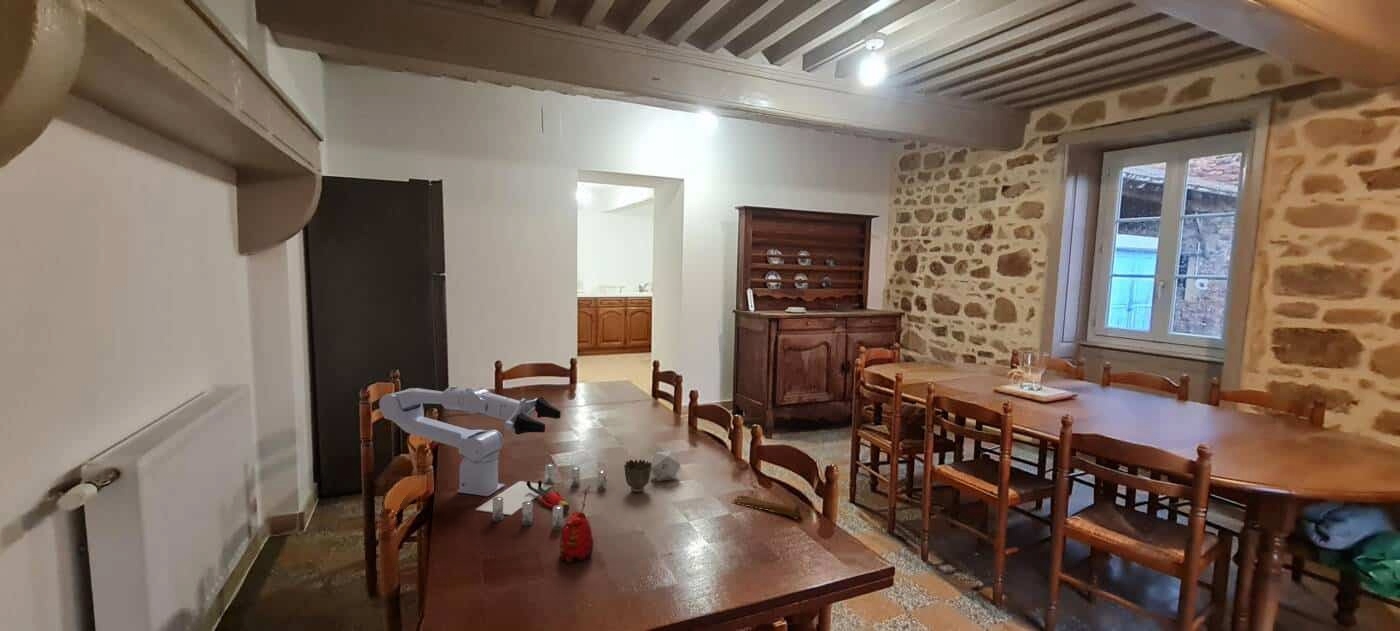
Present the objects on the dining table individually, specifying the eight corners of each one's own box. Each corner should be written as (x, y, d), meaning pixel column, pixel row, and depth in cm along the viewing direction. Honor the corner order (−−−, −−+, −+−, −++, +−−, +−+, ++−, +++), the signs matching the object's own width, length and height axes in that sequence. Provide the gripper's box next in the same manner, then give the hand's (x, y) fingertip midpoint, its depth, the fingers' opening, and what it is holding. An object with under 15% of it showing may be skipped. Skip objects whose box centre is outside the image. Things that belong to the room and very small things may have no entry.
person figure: (541, 473, 157) (573, 495, 144) (545, 485, 158) (577, 508, 145) (524, 482, 154) (555, 506, 141) (528, 495, 155) (559, 519, 142)
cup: (646, 498, 154) (646, 469, 153) (620, 495, 156) (620, 466, 155) (654, 488, 161) (654, 460, 161) (628, 485, 163) (629, 457, 162)
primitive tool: (729, 503, 153) (730, 491, 153) (739, 497, 158) (740, 485, 158) (796, 523, 143) (797, 509, 143) (805, 515, 147) (805, 502, 147)
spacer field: (490, 520, 138) (490, 500, 138) (547, 480, 165) (548, 463, 164) (559, 530, 134) (560, 510, 133) (607, 488, 160) (607, 470, 160)
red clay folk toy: (557, 550, 125) (557, 483, 124) (589, 545, 128) (590, 479, 126) (562, 567, 118) (563, 496, 117) (596, 561, 121) (597, 492, 119)
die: (643, 480, 169) (649, 461, 163) (655, 458, 176) (661, 439, 170) (668, 492, 168) (675, 473, 162) (679, 470, 175) (686, 451, 169)
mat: (475, 510, 144) (475, 509, 144) (519, 482, 163) (519, 481, 163) (511, 515, 141) (511, 514, 141) (551, 486, 160) (551, 485, 160)
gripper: (489, 407, 145) (537, 420, 142) (522, 384, 158) (566, 396, 155) (490, 431, 147) (536, 445, 144) (522, 406, 161) (565, 418, 157)
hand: (552, 421), depth 150 cm, fingers open, 7 cm apart
